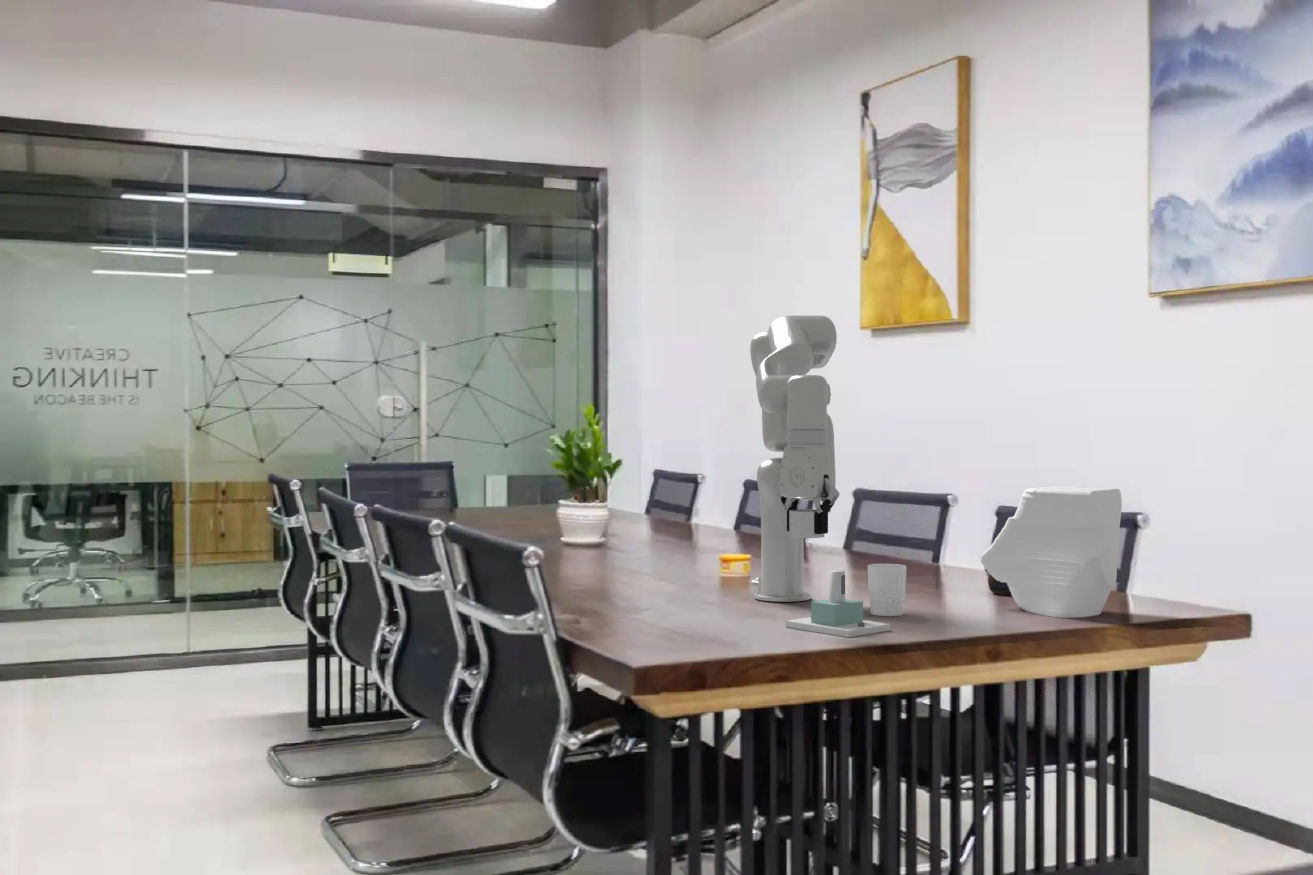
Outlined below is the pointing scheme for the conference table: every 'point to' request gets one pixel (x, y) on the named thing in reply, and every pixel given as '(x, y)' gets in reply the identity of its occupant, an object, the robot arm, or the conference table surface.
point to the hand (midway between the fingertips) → (807, 531)
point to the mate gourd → (998, 586)
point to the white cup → (887, 589)
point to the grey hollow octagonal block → (802, 523)
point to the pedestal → (837, 613)
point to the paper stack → (1059, 550)
